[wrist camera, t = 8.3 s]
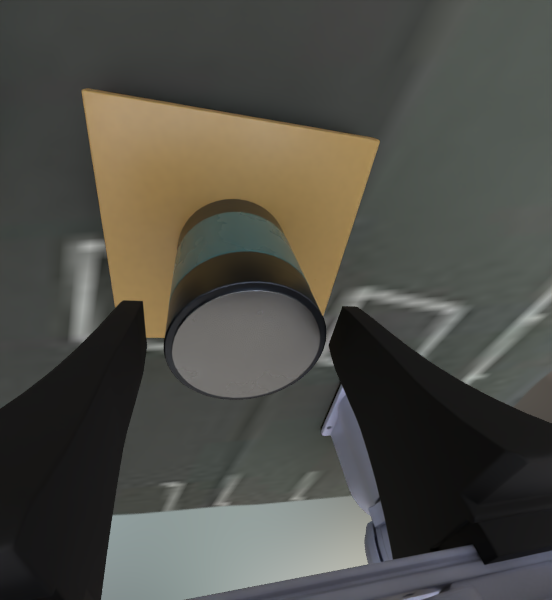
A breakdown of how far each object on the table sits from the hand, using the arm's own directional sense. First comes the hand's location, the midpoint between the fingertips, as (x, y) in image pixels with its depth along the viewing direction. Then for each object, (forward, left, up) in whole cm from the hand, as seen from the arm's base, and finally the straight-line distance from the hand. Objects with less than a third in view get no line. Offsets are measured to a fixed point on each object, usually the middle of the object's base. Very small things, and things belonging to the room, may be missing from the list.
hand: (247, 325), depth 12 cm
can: (0, 0, -6) cm, 6 cm away
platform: (0, 0, -8) cm, 8 cm away
